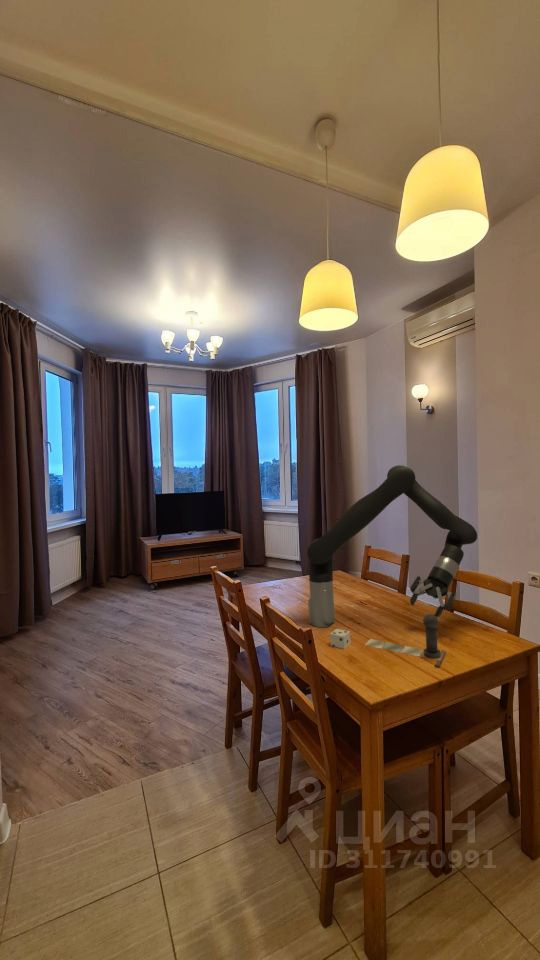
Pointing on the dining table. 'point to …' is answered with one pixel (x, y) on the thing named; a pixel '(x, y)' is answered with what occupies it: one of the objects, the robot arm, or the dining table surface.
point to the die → (340, 638)
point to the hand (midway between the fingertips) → (423, 610)
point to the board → (404, 650)
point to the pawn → (431, 637)
